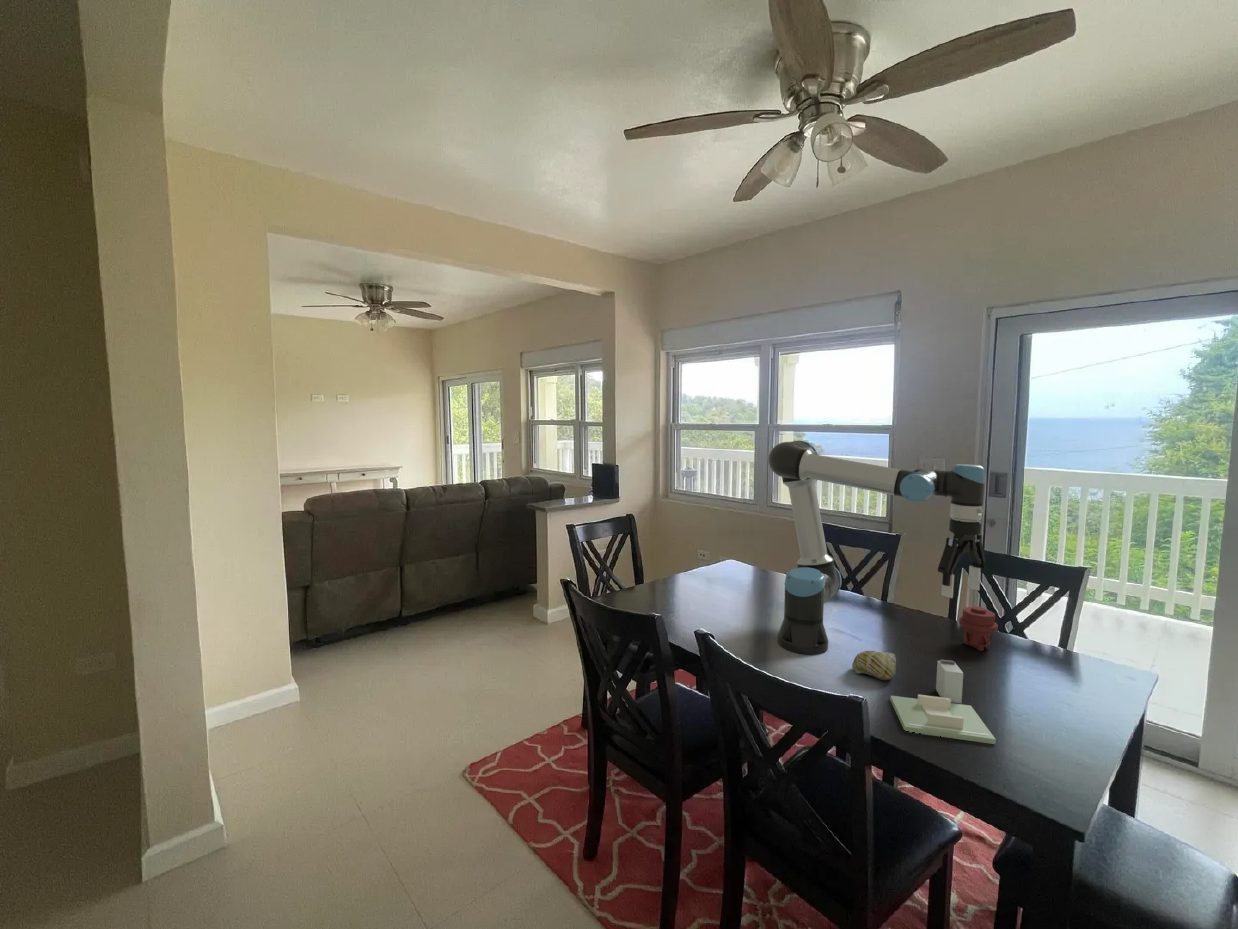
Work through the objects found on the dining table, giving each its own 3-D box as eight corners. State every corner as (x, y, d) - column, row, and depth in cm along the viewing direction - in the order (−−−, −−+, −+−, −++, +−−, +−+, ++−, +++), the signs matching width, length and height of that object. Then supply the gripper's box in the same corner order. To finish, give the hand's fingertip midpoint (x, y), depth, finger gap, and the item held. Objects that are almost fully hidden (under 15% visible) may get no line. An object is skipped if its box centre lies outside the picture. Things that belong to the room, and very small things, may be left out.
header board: (904, 731, 120) (905, 716, 120) (890, 700, 134) (890, 686, 133) (995, 744, 115) (996, 728, 115) (970, 710, 129) (971, 696, 129)
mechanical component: (986, 641, 169) (1002, 654, 159) (952, 638, 171) (966, 651, 161) (989, 604, 168) (1005, 615, 158) (954, 601, 170) (968, 613, 160)
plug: (943, 701, 133) (945, 668, 132) (935, 689, 139) (937, 658, 138) (961, 703, 132) (963, 670, 131) (952, 691, 138) (954, 660, 137)
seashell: (843, 664, 151) (859, 634, 151) (872, 679, 152) (889, 649, 151) (859, 680, 141) (877, 647, 141) (891, 696, 141) (908, 664, 141)
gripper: (954, 526, 138) (949, 604, 140) (1003, 517, 151) (998, 589, 152) (926, 521, 145) (921, 595, 147) (975, 513, 157) (970, 582, 159)
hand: (960, 592), depth 150 cm, fingers open, 13 cm apart
